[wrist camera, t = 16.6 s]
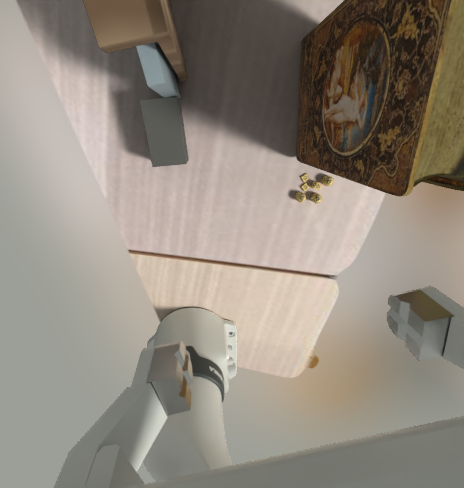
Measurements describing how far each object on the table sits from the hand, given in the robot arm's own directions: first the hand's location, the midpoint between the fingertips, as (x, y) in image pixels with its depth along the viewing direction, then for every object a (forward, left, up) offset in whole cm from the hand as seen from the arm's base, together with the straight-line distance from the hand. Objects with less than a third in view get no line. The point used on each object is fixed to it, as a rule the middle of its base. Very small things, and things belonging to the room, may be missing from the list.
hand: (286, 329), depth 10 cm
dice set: (-5, -13, -35) cm, 38 cm away
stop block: (+8, +7, -34) cm, 36 cm away
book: (+8, -15, -34) cm, 38 cm away
